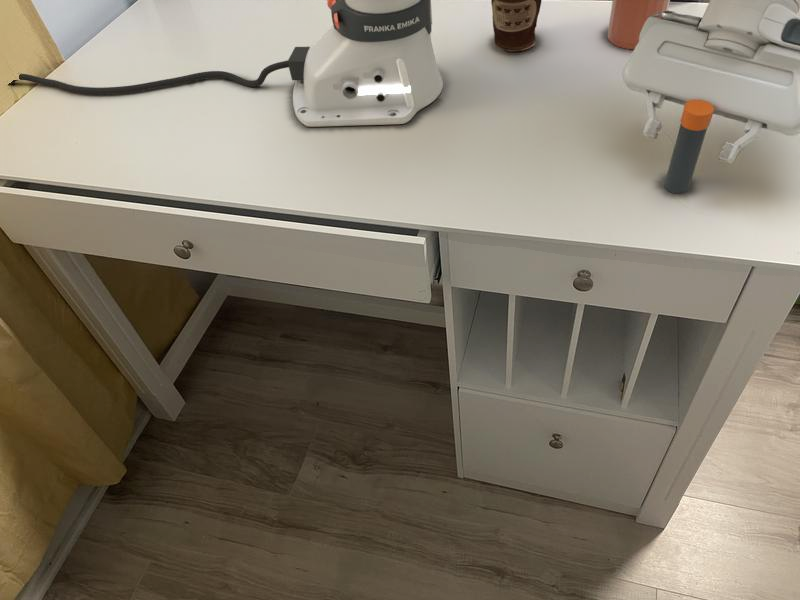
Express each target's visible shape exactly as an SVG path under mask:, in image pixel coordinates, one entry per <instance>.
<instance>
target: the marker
mask: <svg viewBox="0 0 800 600" xmlns="http://www.w3.org/2000/svg"><path fill="white" fill-rule="evenodd" d="M713 111H714V107H713V105H712V104H711V103H709V102H707V101H704V100H691V101H688V102H687V103H686V104H685V106H684V105H683V110H682V113H681V117H680V123H679V124H680V126H679V128H678V132H677V135H676V138H675V142H674V147H673V151H672V153H671V158H670V161H669V166H668V170H667V173H666V176H665V180H664V185H663V186H664V188H665V189H666V191H668V193H669V192H670V193H672V194H676V195H677V194H678V195H679V194H684V193H687V191H688V190H689V189H690V185H691V183H692V180H693V175H694V173H695V170H696V166H697V163H698V159H699V156H700V154H701V150H702V146H703V144H704V140H705V137H706V134H707V130H708V128H709V126H710V124H711V122H712V121H711V120H712V117H713V115H714V114H713Z"/></svg>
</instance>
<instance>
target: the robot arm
mask: <svg viewBox="0 0 800 600" xmlns="http://www.w3.org/2000/svg"><path fill="white" fill-rule="evenodd" d="M326 4H327V5H326V6H327V7H328V9H329V10H330V13H331V15H330V16H331V20H332V25H331V26H330V27H329V29H328V30H327V31H325V32H324V33H323V35H321V36H320V37H319V38H318V39H317V40H316V41H315V42H313V44H312V45H311V46H294V48H293V51H292V52H291V54H290V55H289V58H288V59H287V60H283V61H279V62H275V63H272V64H269V65H267V66H266V67H264V68H263V69H262V71H260V74H259V75H258V77H257V78H256V79H254V80H249V79H246V78H243V77H241V76H238V75H237V74H234V73H232V72H228V71H223V70H208V71H202V72H195V73H191V74H187V75H186V74H185V75H182V76H177V77H171V78H166V79H165V78H164V79H160V80H154V81H150V82H145V83H138V84H131V85H123V86H110V87H109V86H107V87H105V86H103V87H92V86H91V87H90V86H78V85H72V84H68V83H66V82H63V81H59V80H56V79H52V78H44V77H40V76H35V75H32V74H28V73H19V74H20V75H19V79H20V80H13V81H12V82H11V83H9V84H8V85H7V86H9V87H10V86H13V85H15V84H16V83H17V82H18V81H26V82H31V83H35V84H39V85H44V86H50V87H55V88H58V89H61V90H65V91H68V92H72V93H77V94H87V95H88V94H89V95H114V94H115V95H116V94H127V93H128V94H129V93H134V92H135V93H136V92H141V91H146V90H153V89H157V88H164V87H169V86H174V85H179V84H184V83H185V84H186V83H189V82H194V81H199V80H205V79H215V78H216V79H217V78H218V79H226V80H229V81H232V82H234V83H237V84H239V85H241V86H245V87H247V88H248V87H249V88H257V87H260V86H261V85H263V83H264V82H265V80H266V78H267V77H268V75H269V74H271V73H273V72H276V71H278V70H282V69H286V68H288V69H289V75H290V78H291V81H296V82H295V83H294V87H293V90H292V104H293V105H292V106H293V110H294V114H295V117H296V118H297V119H298V121H299V122H300V123H301V124H302V125H304V126H305V127H312V128H313V127H317V128H318V127H343V126H344V127H345V126H347V127H348V126H349V127H350V126H378V125H379V126H380V125H404V124H406V123H408V122H410V120H412V119H413V118H414V116H415V115H416V114H417V113H418V112H419V111H421V110H422V109H424V108H426V107H427V106H429V105H430V104H432V103H433V102H434V101H435V100H436V99H437V98H438V97H439V96H440V94H441V93H442V91H443V88H444V81H443V77H442V75H441V73H440V69H439V67H438V62H437V60H436V55H435V51H434V47H433V46H434V45H433V41H432V35H431V34H432V25H433V10H432V8H433V7H432V0H326ZM799 11H800V0H709V2H708V4H707V6H706V9H705V11H704V13H703V15H702V17H700V16H696V15H691V14H683V13H682V14H681V13H678V12H675V11H673V10H669V9H668V10H664V11H663V12H662V13H657V14H654V15H652V16H650V17H649V18H648V19H647V20H646V22H645V23H644V26H643V28H642V30H641V32H640V35H639V42H638V44H637V46H636V47H635V49H633V50H632V52H631V54H630V56H629V58H628V59H627V61H626V63H625V64H624V67H623V70H622V72H621V76H622V80H623V83H624V85H625V86H626V88H627V89H628V90H630V91H633V92H635V93H640V94H643V95H647V98H646V100H645V105H646V115H647V121H646V123H645V125H644V127H643V129H642V135H643V136H644V137H647V138H650V139H654V140H657V139H658V137H659V135H660V134H659V133H660V132H661V131H662V129H663V127H664V125H663V123H662V122H661V121H660V120H657V112H656V109H661V108H662V106H663V104H664V101H667V102H671V103H674V104H678V105H681V106H683V107H684V106H685V104H686V103H687V102H688V101H691V100H704V101H707V102H709V103H711V104H712V105H713V107H714V111H713V114H712V115H716V116H719V117H723V118H727V119H730V120H734V121H737V122H740V123H744V124H745V126H744V128H743V129H744V134H743V135H742V136H741V137H740V138H739V139H737V140H736V141H735V142H733V143H731V142H729V141H725V142H724V144H723V146H722V150H720V152H719V154H718V160H720V161H723V162H726V163H728V164H734V162H735V160H736V158H737V156H738V154H739V152H740V150H742V149H744V148H745V147H746V146H748V145H749V144H751V143H752V142H753V141H755V140H756V139H757V138H758V137H759V135H760V133H761V132H762V129H764V130H768V131H772V132H775V133H778V134H782V135H785V136H789V137H794V136H796V135H798V134H800V15H798V14H799ZM656 17H661V19H659V18H656Z"/></svg>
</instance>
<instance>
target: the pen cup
mask: <svg viewBox="0 0 800 600" xmlns="http://www.w3.org/2000/svg"><path fill="white" fill-rule="evenodd" d="M611 1H612V2H611V9H610V15H609V22H608V28H607V39H608V41H609V42H610V43H611V44H613V45H615V46H616V47H618V48H622V49H625V50H626V49H627V50H634V49H635V47H636V46H637V44H638V42H639V35H640V32H641V30H642V28H643V26H644V23H645V22H646V20H647V19H648V18H649V17H650V16H652V15H654V14H657V13H662V12H663V11H664V10H668V11H669V6H670V2H671V0H611ZM656 18H659V19H661V17H656Z"/></svg>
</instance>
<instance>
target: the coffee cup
mask: <svg viewBox="0 0 800 600" xmlns="http://www.w3.org/2000/svg"><path fill="white" fill-rule="evenodd" d="M490 1H491V13H492V27H493V34H494V35H493V36H494V38H493V39H494V45H495V46H496V47H497V48H498V49H499V50H502V51H507V52H520V51H525V50H528V49H530V48H532V47H534V46H535V45H536V40H537V38H536V28H537V26H538V25H537V24H538V17H539V14H540V10H541V6H542V0H490Z"/></svg>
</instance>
